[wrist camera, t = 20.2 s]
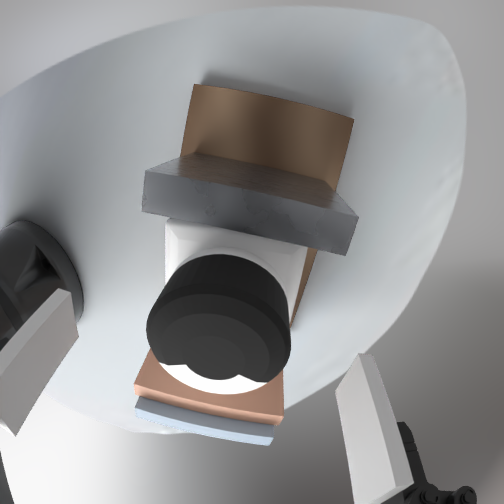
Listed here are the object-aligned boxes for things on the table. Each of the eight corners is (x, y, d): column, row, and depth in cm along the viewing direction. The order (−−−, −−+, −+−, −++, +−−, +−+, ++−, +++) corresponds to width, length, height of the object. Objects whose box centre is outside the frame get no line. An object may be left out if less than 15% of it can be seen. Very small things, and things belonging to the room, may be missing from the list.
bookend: (189, 177, 22) (141, 211, 13) (193, 152, 21) (145, 170, 13) (318, 205, 22) (345, 255, 14) (325, 180, 21) (358, 217, 13)
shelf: (168, 309, 29) (163, 317, 27) (198, 86, 20) (194, 83, 19) (284, 334, 29) (284, 343, 28) (349, 119, 20) (354, 119, 19)
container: (197, 188, 22) (118, 264, 10) (297, 202, 22) (328, 296, 10) (192, 276, 25) (139, 393, 13) (281, 289, 25) (285, 418, 13)
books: (175, 314, 27) (132, 415, 16) (177, 293, 26) (128, 395, 15) (274, 336, 27) (273, 445, 16) (281, 315, 26) (284, 429, 15)
